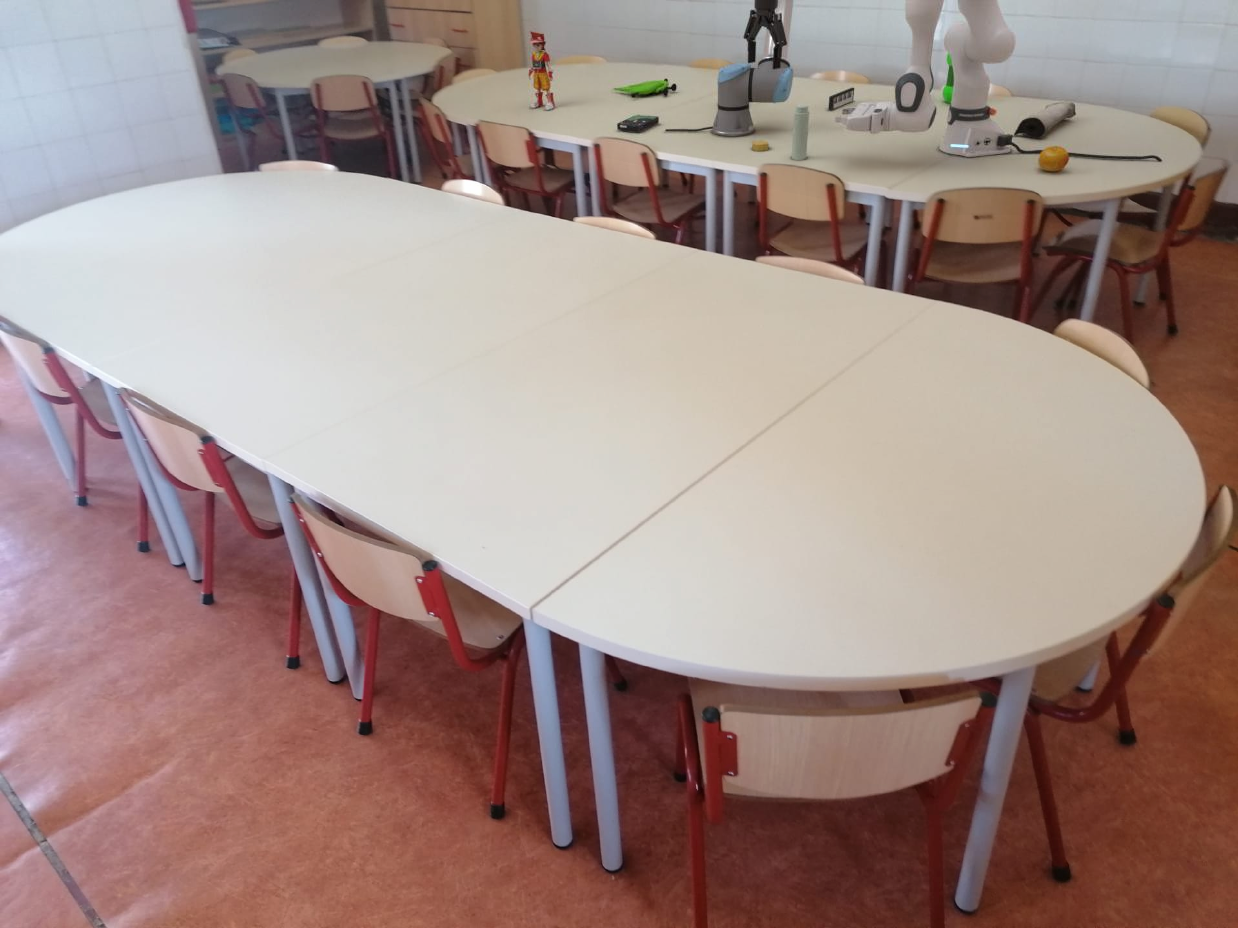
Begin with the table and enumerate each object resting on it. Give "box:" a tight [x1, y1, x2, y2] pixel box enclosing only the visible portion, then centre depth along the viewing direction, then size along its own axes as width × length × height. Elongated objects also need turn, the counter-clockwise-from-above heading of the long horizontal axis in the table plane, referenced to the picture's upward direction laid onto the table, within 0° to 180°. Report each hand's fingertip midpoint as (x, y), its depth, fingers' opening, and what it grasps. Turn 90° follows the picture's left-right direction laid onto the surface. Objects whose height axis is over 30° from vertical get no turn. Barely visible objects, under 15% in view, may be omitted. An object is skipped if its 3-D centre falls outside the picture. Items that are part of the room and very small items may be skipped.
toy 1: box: [527, 31, 556, 111], centre depth 374 cm, size 12×9×30 cm
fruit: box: [1037, 145, 1070, 172], centre depth 278 cm, size 8×8×8 cm
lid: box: [752, 139, 769, 152], centre depth 316 cm, size 6×6×2 cm
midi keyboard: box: [827, 87, 855, 111], centre depth 358 cm, size 18×1×5 cm, turn 138°
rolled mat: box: [1013, 101, 1077, 140], centre depth 317 cm, size 30×9×10 cm
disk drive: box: [616, 114, 660, 133], centre depth 347 cm, size 10×3×15 cm
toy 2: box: [612, 78, 677, 99], centre depth 396 cm, size 28×5×30 cm
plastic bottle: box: [942, 52, 954, 104], centre depth 348 cm, size 10×10×25 cm
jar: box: [791, 104, 810, 161], centre depth 300 cm, size 5×5×17 cm
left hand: (763, 65), depth 301 cm, fingers open, 13 cm apart
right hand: (839, 115), depth 292 cm, fingers open, 8 cm apart
